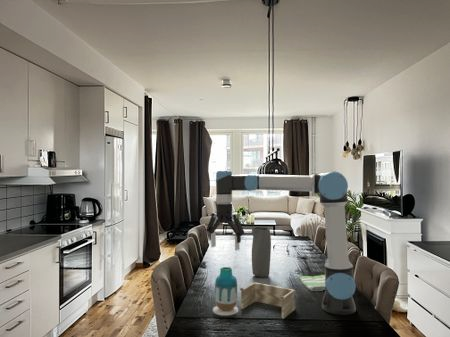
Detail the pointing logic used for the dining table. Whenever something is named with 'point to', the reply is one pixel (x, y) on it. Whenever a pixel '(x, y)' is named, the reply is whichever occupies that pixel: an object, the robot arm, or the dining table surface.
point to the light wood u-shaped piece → (269, 296)
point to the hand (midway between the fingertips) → (225, 248)
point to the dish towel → (314, 282)
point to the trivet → (225, 311)
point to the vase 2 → (261, 251)
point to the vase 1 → (226, 289)
